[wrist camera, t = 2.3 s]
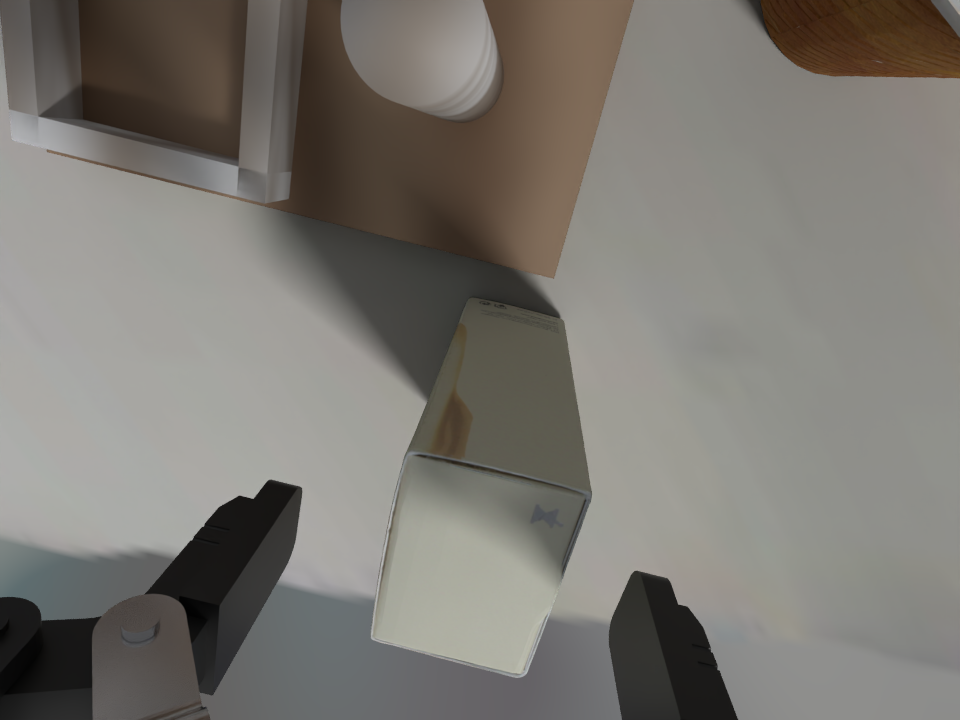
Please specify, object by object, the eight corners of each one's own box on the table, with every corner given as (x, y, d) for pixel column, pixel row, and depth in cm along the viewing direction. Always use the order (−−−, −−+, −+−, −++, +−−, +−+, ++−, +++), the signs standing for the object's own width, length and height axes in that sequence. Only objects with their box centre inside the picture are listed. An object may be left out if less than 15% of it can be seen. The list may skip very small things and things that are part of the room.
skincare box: (467, 292, 23) (403, 434, 11) (567, 317, 23) (602, 482, 11) (438, 424, 25) (360, 648, 14) (528, 446, 25) (526, 689, 14)
